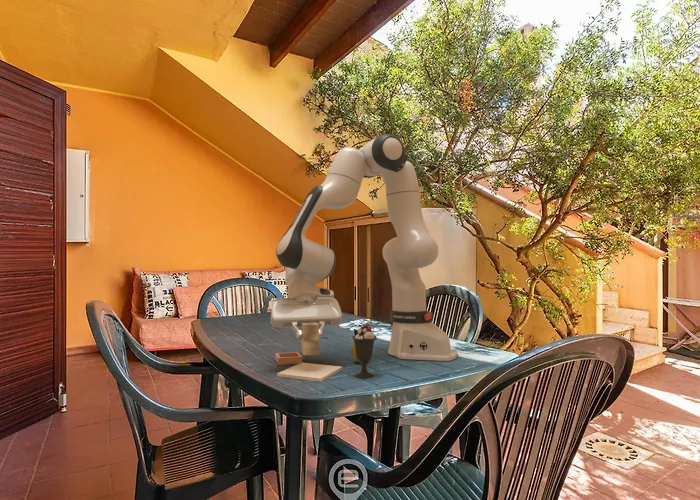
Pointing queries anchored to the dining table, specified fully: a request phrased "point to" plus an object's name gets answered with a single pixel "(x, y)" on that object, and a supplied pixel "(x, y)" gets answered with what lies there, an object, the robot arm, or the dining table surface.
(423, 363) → the dining table surface
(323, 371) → the tile
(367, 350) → the sundae
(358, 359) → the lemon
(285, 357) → the sleeve holder
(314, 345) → the birch post
